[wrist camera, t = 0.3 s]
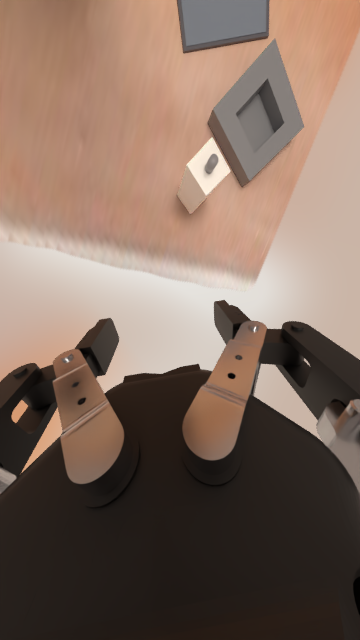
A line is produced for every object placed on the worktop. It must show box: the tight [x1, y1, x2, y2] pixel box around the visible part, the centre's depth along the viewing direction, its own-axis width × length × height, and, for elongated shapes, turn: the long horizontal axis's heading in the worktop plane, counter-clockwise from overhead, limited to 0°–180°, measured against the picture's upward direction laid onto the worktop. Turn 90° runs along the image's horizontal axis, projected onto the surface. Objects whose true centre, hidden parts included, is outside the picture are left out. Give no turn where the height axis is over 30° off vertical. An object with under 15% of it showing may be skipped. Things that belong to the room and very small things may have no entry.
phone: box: [177, 0, 269, 53], centre depth 24 cm, size 7×14×1 cm, turn 102°
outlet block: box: [208, 39, 304, 187], centre depth 28 cm, size 12×12×3 cm
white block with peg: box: [177, 138, 230, 215], centre depth 26 cm, size 4×4×14 cm
